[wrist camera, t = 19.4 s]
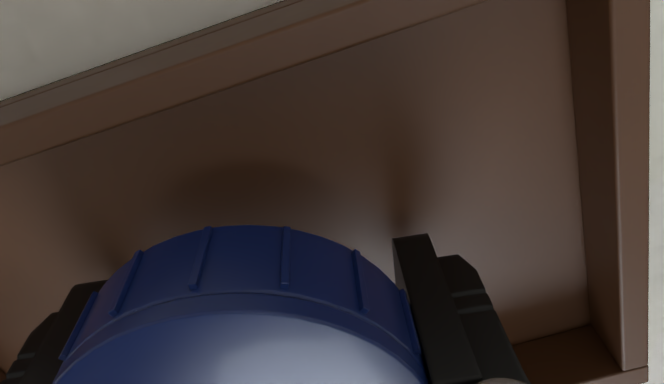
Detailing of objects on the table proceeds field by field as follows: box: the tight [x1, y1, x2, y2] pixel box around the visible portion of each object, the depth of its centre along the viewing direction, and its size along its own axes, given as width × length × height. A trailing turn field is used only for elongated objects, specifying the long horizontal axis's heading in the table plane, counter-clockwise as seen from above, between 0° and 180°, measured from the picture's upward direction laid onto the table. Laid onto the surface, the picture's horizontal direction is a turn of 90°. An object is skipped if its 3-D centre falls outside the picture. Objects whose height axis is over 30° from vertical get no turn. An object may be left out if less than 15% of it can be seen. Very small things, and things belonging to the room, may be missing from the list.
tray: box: [0, 0, 650, 384], centre depth 11 cm, size 10×15×2 cm
